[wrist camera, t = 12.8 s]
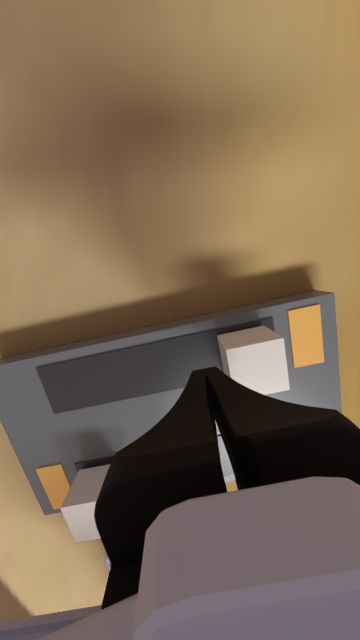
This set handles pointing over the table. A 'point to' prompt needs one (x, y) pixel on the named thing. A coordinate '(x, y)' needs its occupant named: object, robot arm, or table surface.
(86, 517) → the tab
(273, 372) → the tab
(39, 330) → the table surface
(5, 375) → the switch board
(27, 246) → the table surface
